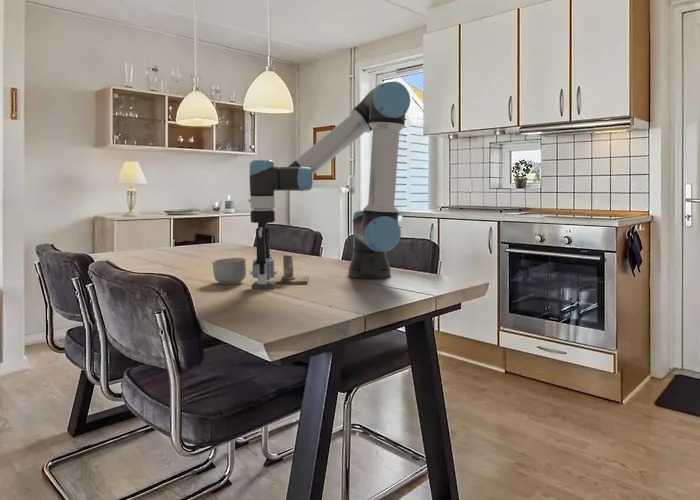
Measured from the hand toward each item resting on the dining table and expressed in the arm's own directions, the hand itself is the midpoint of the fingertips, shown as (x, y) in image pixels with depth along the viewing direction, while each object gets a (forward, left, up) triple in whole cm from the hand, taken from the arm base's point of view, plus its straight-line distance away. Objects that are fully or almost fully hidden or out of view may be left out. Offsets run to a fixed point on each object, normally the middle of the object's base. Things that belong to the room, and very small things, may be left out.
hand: (264, 281), depth 171 cm
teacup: (+12, -9, -2) cm, 15 cm away
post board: (-7, -9, -2) cm, 11 cm away
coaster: (0, 0, -2) cm, 2 cm away
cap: (0, 0, +2) cm, 2 cm away
